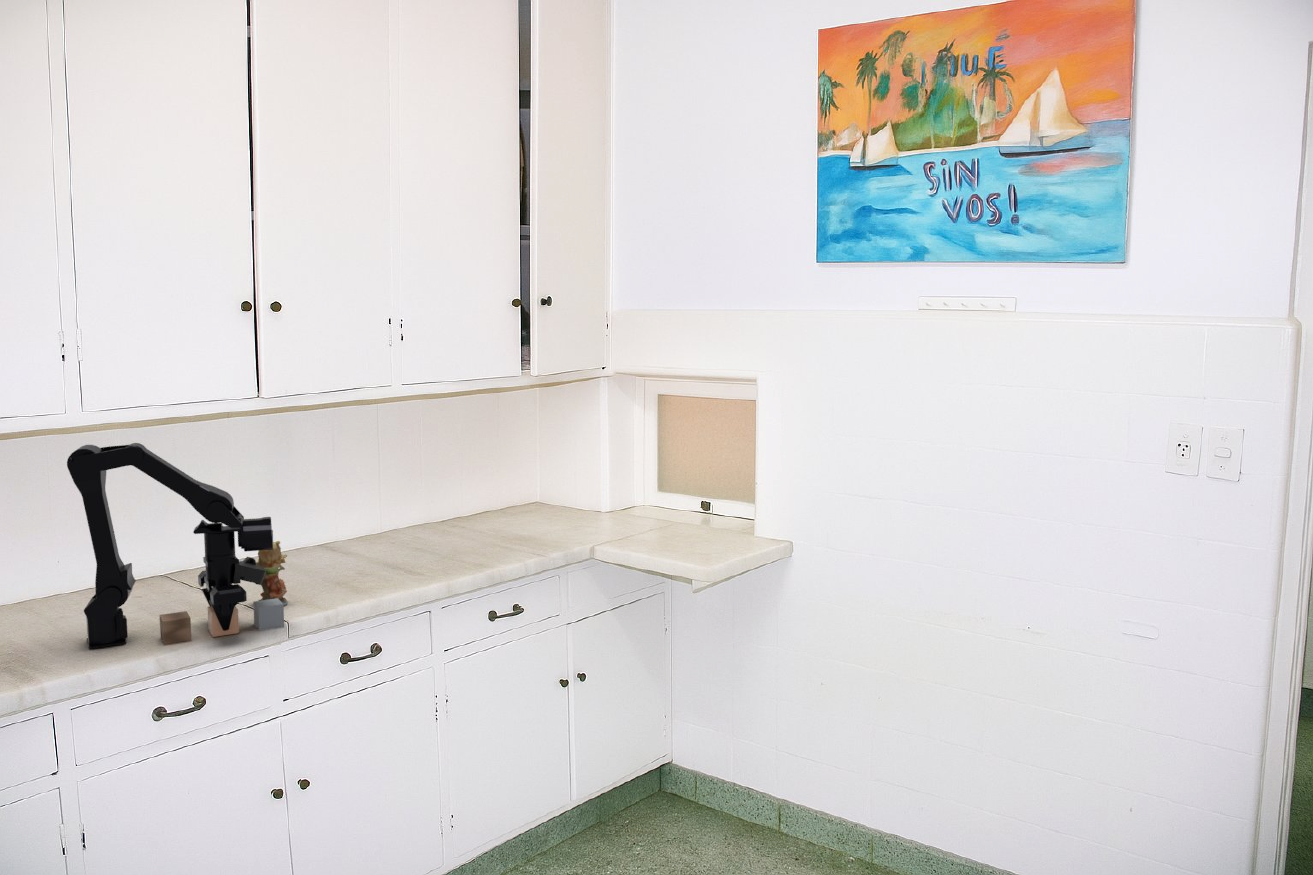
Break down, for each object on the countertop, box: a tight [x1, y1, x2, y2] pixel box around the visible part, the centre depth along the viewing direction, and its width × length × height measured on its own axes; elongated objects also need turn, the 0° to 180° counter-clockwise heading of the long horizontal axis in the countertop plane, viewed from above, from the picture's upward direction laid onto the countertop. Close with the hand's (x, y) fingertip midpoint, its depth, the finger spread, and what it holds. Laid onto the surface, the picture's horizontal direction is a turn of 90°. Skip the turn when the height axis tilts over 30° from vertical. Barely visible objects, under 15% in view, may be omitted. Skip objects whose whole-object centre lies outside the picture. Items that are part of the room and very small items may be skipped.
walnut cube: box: [159, 610, 192, 646], centre depth 206 cm, size 5×5×5 cm
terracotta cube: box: [206, 605, 240, 638], centre depth 210 cm, size 5×5×5 cm
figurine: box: [256, 540, 288, 606], centre depth 229 cm, size 9×8×15 cm
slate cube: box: [252, 598, 285, 631], centre depth 215 cm, size 5×5×5 cm
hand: (223, 626), depth 211 cm, fingers closed on terracotta cube, 5 cm apart
